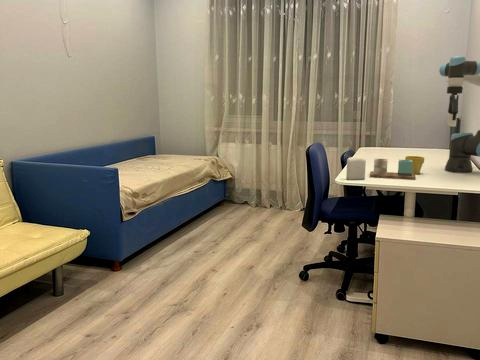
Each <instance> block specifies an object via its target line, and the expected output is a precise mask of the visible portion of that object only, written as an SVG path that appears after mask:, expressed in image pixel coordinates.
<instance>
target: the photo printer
mask: <svg viewBox="0 0 480 360" xmlns="http://www.w3.org/2000/svg"><path fill="white" fill-rule="evenodd" d="M366 166H367V164H366V158H365V157H362V156H351V157H348V158H347V160H346V175H345V176H346V178H345V179H346V180H347V179H352V180H366Z"/></svg>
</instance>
